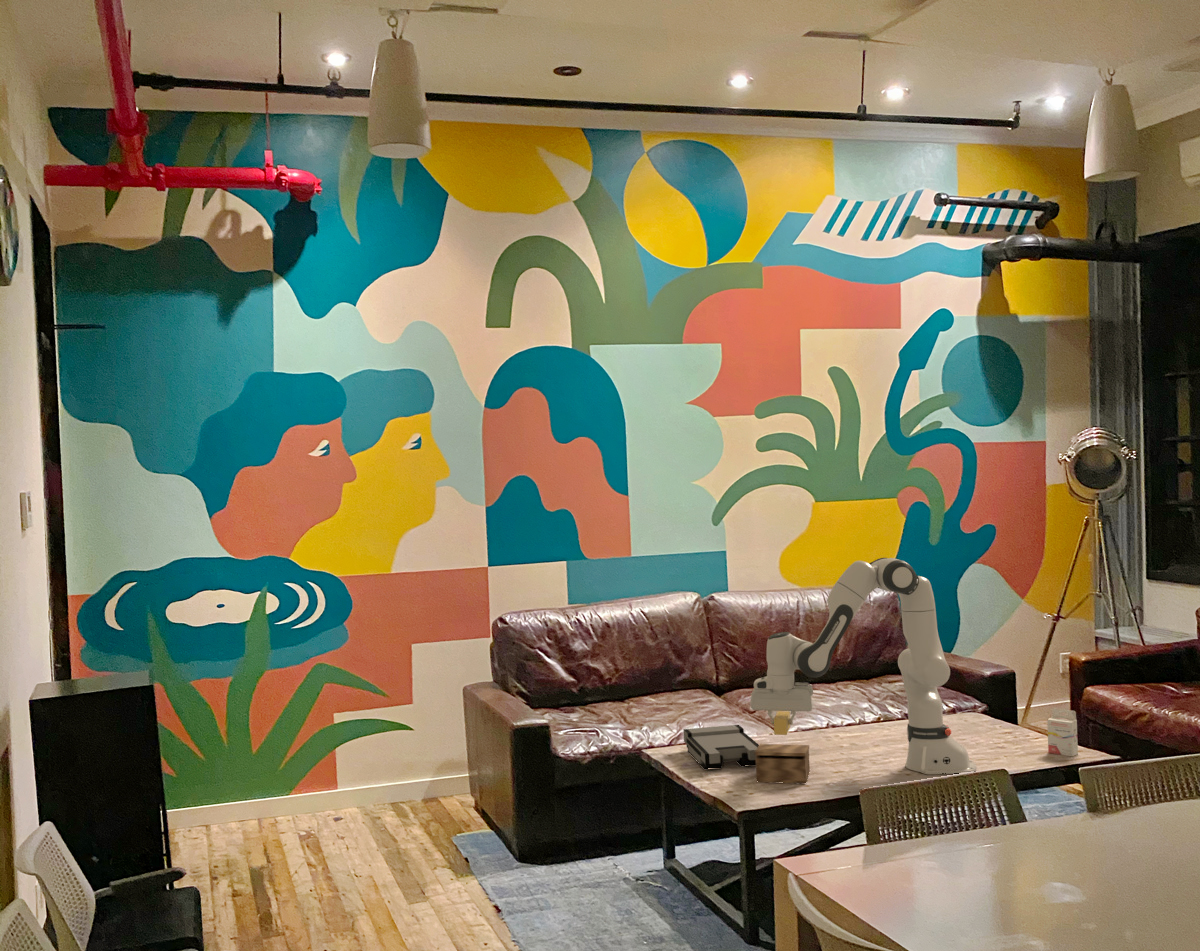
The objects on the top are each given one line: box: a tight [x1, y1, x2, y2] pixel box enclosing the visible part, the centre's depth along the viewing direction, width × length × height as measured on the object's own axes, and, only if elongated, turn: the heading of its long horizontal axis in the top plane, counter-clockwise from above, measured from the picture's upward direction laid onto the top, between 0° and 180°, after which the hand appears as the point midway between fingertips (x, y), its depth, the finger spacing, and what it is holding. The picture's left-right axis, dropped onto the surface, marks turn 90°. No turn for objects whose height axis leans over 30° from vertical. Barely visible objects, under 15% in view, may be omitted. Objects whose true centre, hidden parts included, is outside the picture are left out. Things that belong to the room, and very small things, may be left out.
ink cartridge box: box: [1047, 707, 1079, 757], centre depth 379 cm, size 9×5×15 cm, turn 47°
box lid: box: [754, 743, 810, 756], centre depth 366 cm, size 16×14×1 cm
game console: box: [683, 724, 760, 770], centre depth 391 cm, size 21×32×8 cm, turn 9°
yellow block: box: [773, 711, 791, 736], centre depth 365 cm, size 4×12×5 cm, turn 165°
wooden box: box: [755, 749, 811, 784], centre depth 366 cm, size 16×14×8 cm
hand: (782, 724), depth 365 cm, fingers closed on yellow block, 4 cm apart
